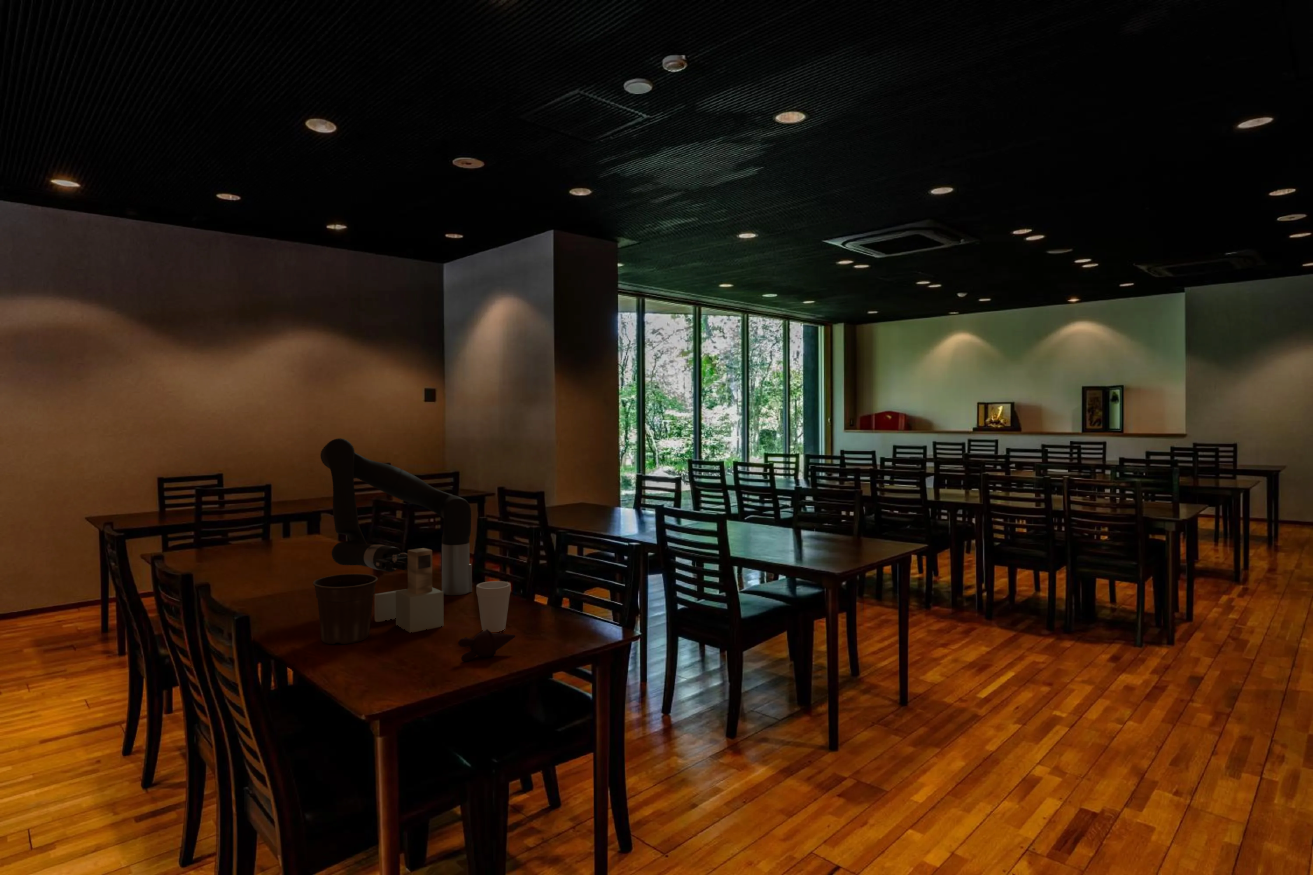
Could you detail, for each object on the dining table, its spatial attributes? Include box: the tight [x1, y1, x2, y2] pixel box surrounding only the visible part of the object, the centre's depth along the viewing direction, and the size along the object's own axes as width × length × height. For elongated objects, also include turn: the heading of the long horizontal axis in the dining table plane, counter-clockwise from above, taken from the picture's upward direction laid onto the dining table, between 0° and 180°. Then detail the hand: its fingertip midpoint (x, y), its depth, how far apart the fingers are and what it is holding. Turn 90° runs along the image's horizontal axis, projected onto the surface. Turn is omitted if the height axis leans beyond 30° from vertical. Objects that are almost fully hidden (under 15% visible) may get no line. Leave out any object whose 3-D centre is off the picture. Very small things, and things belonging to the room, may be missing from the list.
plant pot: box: [312, 573, 378, 645], centre depth 196 cm, size 16×16×16 cm
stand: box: [395, 586, 445, 634], centre depth 208 cm, size 10×10×10 cm
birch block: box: [407, 547, 433, 594], centre depth 208 cm, size 5×5×12 cm
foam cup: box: [475, 580, 512, 632], centre depth 204 cm, size 10×9×13 cm
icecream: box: [457, 629, 516, 663], centre depth 182 cm, size 7×7×15 cm
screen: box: [374, 588, 406, 623], centre depth 218 cm, size 16×2×8 cm, turn 132°
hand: (418, 563), depth 209 cm, fingers open, 8 cm apart
